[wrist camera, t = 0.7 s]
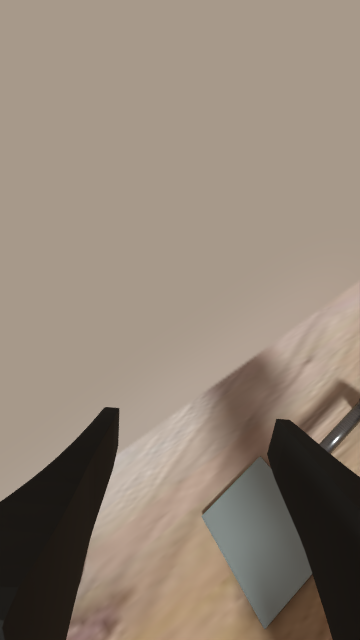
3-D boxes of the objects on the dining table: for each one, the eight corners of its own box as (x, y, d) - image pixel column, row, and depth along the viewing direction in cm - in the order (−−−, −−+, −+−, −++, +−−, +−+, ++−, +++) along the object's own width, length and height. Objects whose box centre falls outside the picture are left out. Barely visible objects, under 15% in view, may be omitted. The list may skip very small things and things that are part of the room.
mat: (338, 543, 19) (338, 543, 19) (265, 628, 18) (264, 629, 18) (260, 457, 25) (259, 456, 25) (203, 516, 24) (201, 516, 24)
